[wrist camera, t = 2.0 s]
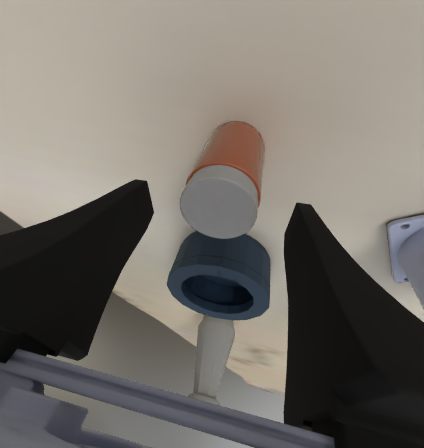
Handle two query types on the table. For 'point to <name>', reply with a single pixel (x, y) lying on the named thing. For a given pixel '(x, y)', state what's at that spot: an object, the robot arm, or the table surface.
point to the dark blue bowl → (222, 276)
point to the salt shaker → (211, 357)
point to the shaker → (226, 183)
